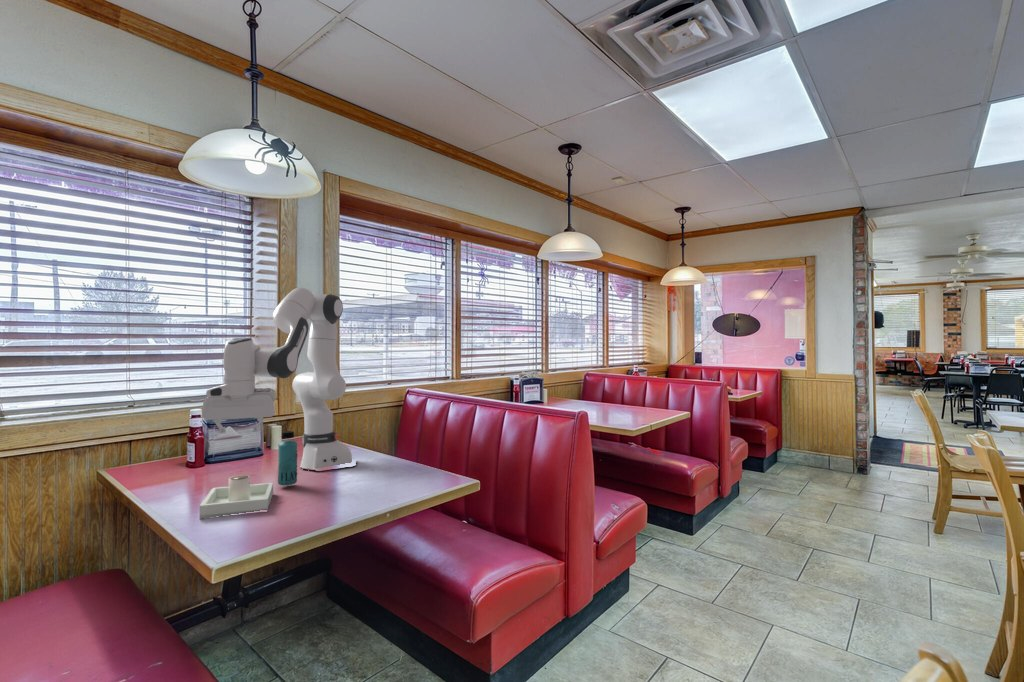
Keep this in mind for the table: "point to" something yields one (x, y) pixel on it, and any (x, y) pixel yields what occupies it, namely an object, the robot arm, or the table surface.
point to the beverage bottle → (287, 460)
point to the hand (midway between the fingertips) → (239, 432)
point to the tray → (220, 506)
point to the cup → (239, 488)
